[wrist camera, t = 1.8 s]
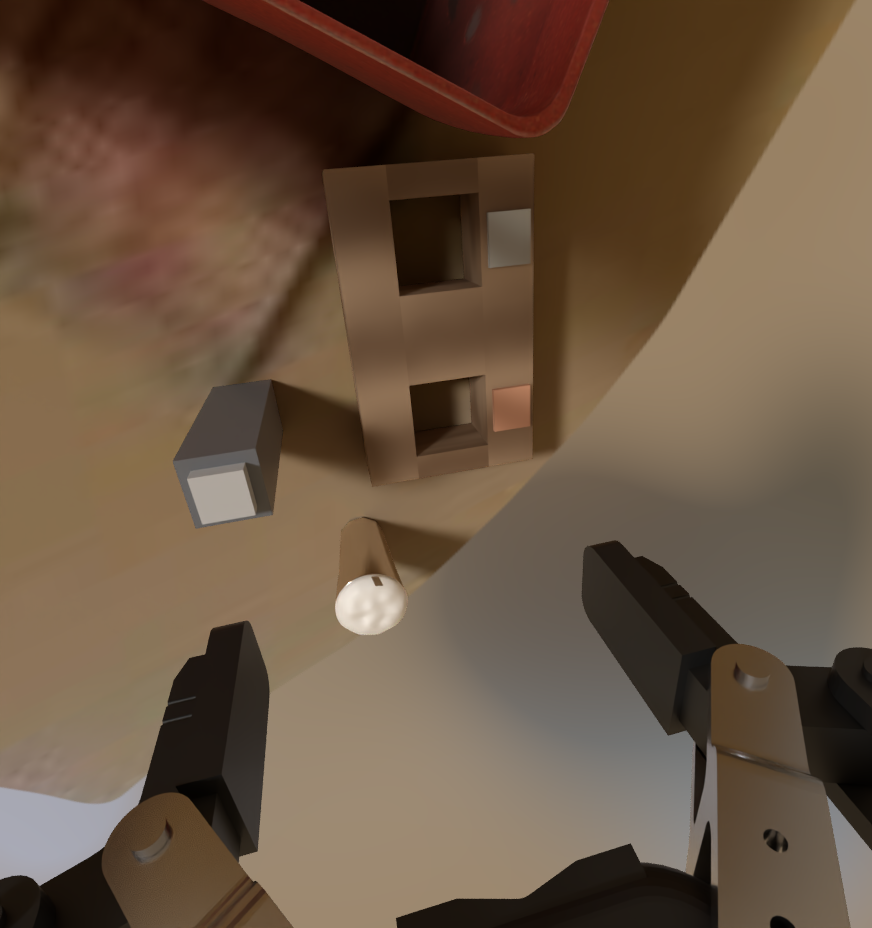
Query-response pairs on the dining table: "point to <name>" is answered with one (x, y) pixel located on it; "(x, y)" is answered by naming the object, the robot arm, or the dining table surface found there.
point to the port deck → (439, 313)
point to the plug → (232, 455)
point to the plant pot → (447, 53)
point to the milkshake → (368, 581)
